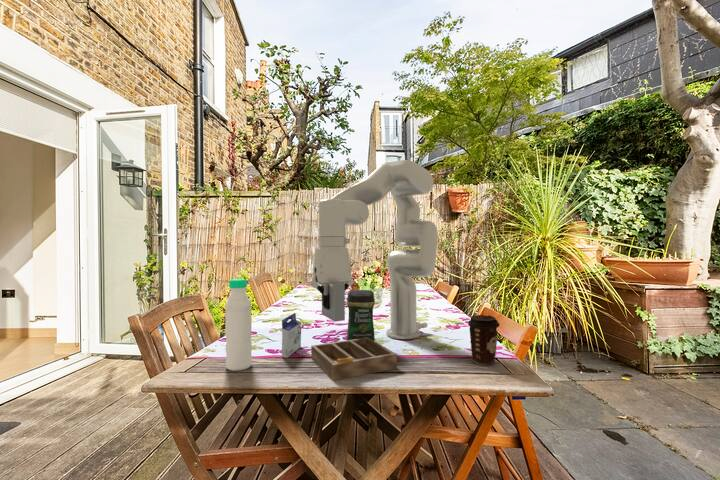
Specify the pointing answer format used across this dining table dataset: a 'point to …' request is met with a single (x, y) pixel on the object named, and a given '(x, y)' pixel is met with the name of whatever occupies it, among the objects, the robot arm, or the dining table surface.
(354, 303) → the coffee jar
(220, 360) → the dining table surface
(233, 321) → the water bottle
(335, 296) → the panel
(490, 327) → the coffee cup
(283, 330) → the ink box
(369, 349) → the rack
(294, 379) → the dining table surface
